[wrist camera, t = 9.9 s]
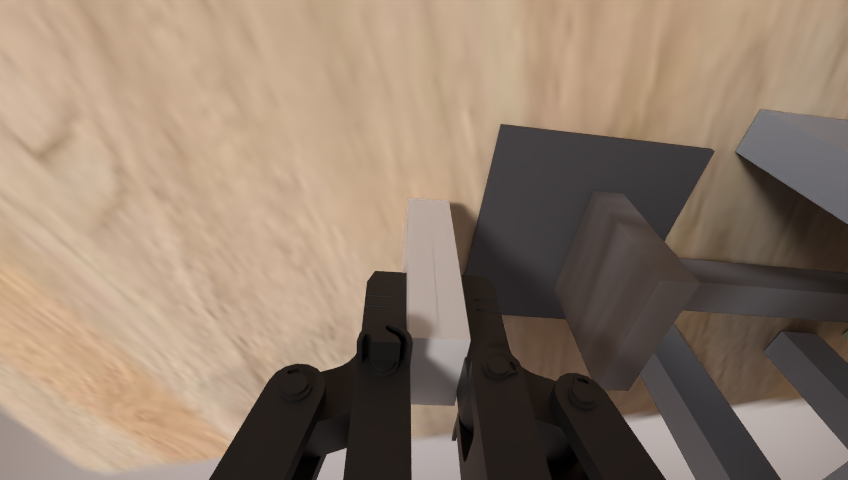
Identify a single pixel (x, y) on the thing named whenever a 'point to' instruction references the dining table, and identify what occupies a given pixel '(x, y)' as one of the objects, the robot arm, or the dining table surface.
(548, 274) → the mat
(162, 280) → the dining table surface
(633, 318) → the push rod
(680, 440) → the tunnel
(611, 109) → the dining table surface
